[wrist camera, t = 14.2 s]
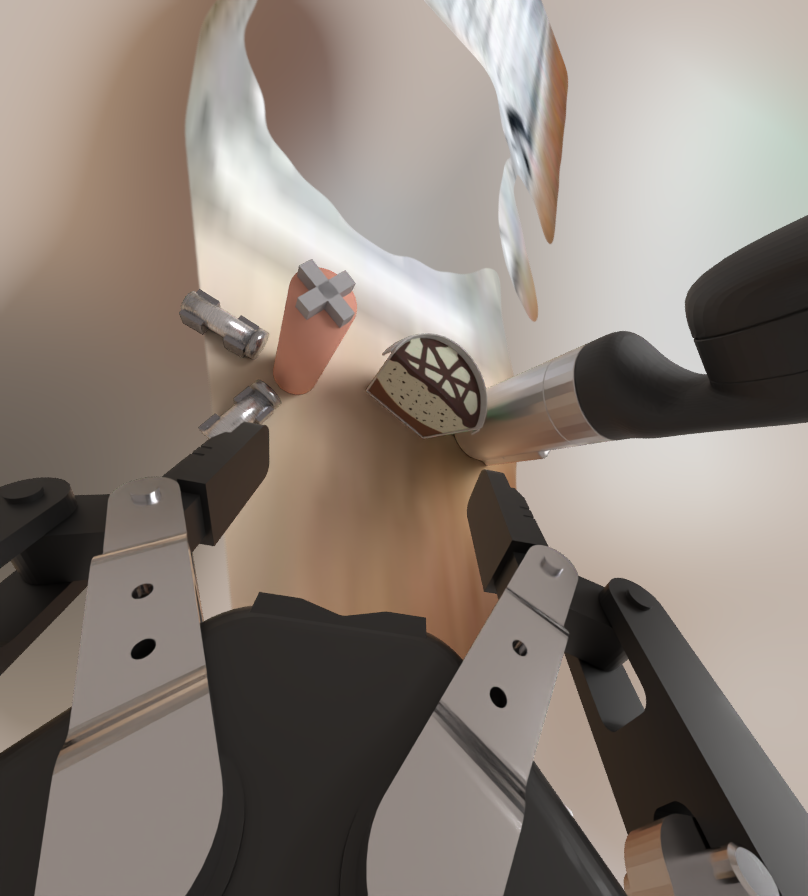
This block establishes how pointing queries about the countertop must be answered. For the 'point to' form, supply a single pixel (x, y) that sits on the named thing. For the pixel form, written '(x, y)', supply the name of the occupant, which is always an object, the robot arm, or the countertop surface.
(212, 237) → the countertop surface
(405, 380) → the food container
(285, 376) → the pink capped rod
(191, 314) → the shaft
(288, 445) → the countertop surface
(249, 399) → the shaft
